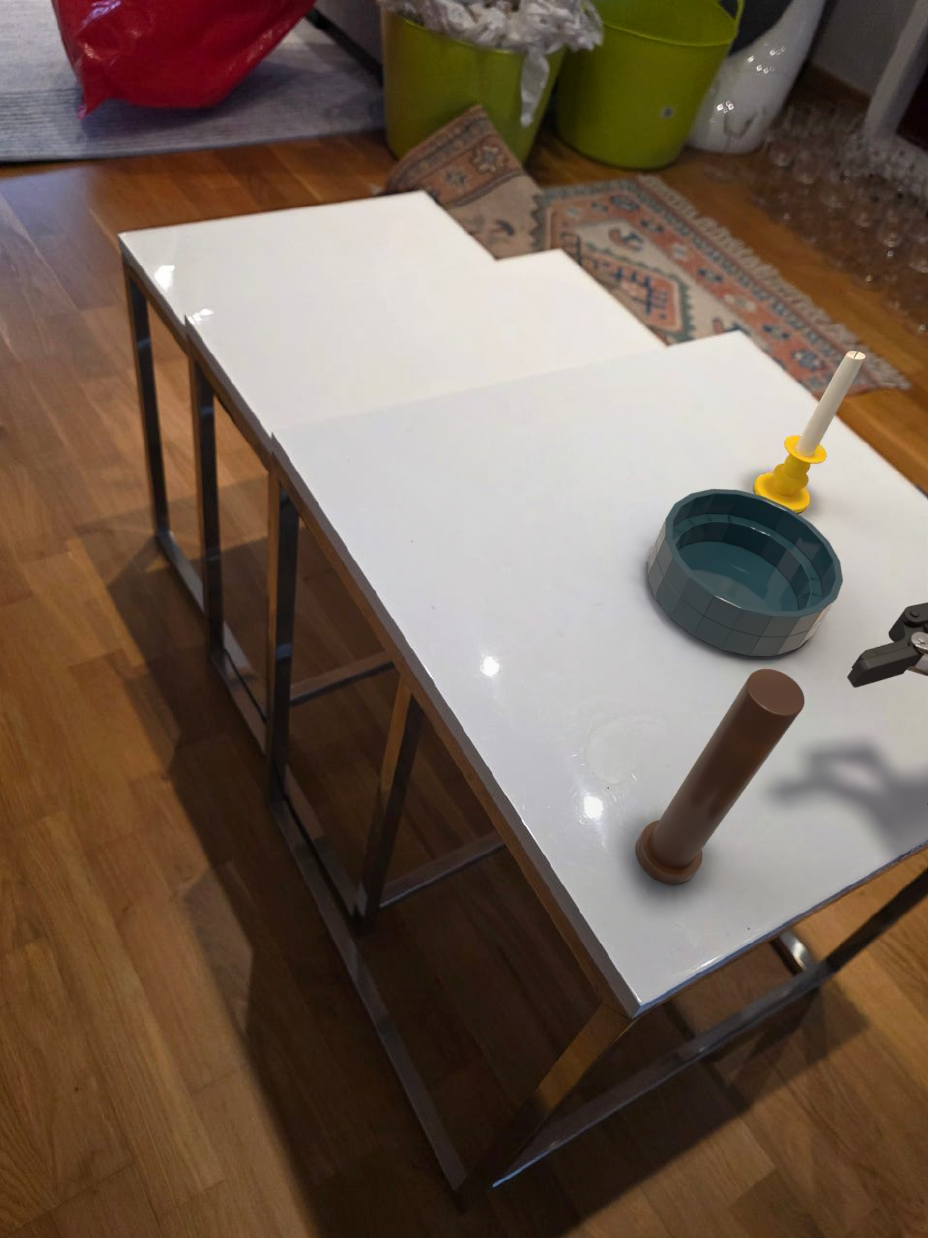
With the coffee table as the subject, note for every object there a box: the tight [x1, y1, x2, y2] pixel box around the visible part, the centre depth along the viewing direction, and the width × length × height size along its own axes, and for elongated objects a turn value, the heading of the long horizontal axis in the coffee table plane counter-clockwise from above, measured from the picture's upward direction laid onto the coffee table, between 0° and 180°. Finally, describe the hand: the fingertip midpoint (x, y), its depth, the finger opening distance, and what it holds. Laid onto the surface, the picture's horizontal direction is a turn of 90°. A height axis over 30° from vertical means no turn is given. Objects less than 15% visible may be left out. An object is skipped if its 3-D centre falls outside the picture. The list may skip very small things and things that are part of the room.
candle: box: [753, 348, 866, 514], centre depth 83 cm, size 5×5×16 cm
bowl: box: [647, 488, 844, 657], centre depth 77 cm, size 14×14×5 cm
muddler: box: [635, 668, 805, 885], centre depth 55 cm, size 4×4×17 cm
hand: (893, 737), depth 55 cm, fingers open, 8 cm apart
